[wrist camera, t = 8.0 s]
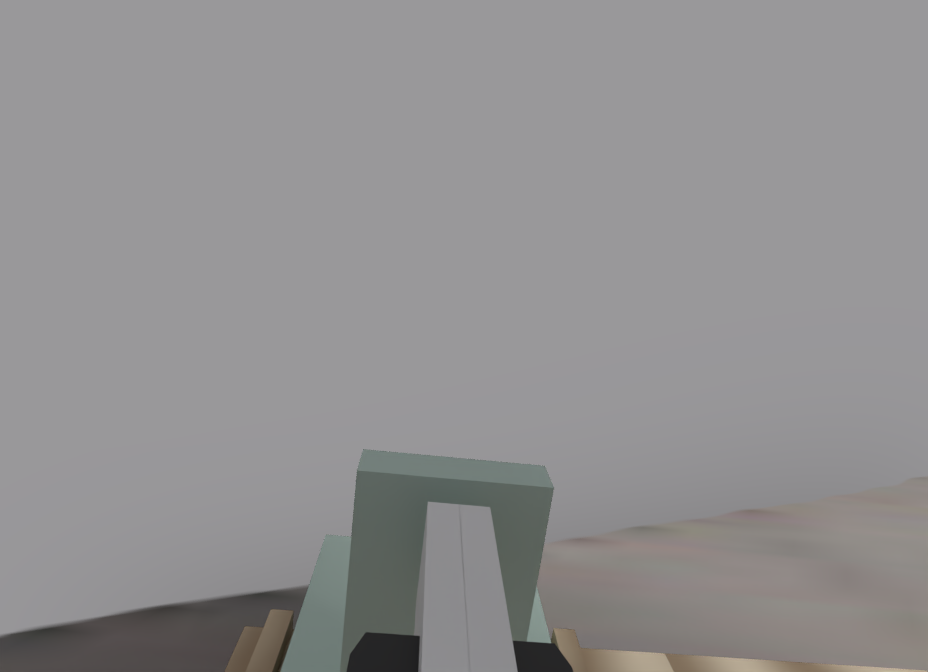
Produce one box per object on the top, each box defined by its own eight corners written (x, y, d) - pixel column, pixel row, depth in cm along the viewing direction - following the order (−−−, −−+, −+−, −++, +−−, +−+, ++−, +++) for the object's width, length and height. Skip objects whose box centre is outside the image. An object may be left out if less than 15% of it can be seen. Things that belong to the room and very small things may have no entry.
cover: (524, 566, 25) (555, 383, 23) (572, 762, 16) (629, 494, 14) (324, 550, 24) (338, 360, 22) (261, 747, 15) (275, 463, 13)
